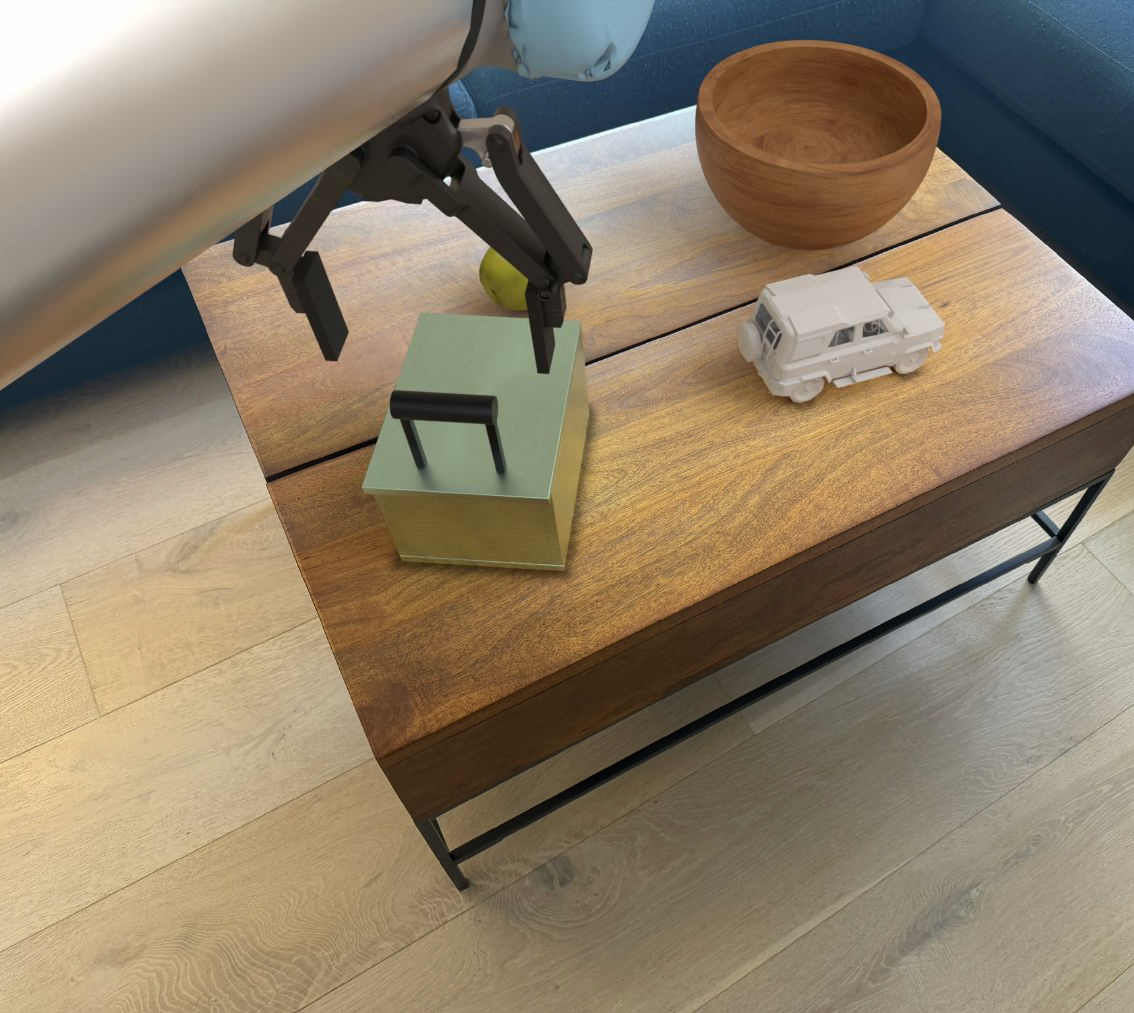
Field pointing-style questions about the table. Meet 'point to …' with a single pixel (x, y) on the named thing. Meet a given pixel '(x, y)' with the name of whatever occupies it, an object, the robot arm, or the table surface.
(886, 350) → the toy car
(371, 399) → the table surface
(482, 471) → the freezer lid
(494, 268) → the apple
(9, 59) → the robot arm
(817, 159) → the bowl
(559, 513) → the freezer
